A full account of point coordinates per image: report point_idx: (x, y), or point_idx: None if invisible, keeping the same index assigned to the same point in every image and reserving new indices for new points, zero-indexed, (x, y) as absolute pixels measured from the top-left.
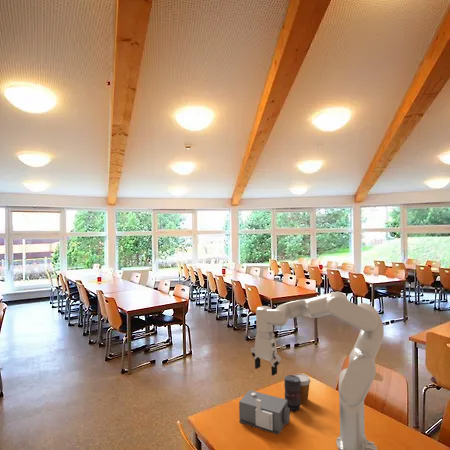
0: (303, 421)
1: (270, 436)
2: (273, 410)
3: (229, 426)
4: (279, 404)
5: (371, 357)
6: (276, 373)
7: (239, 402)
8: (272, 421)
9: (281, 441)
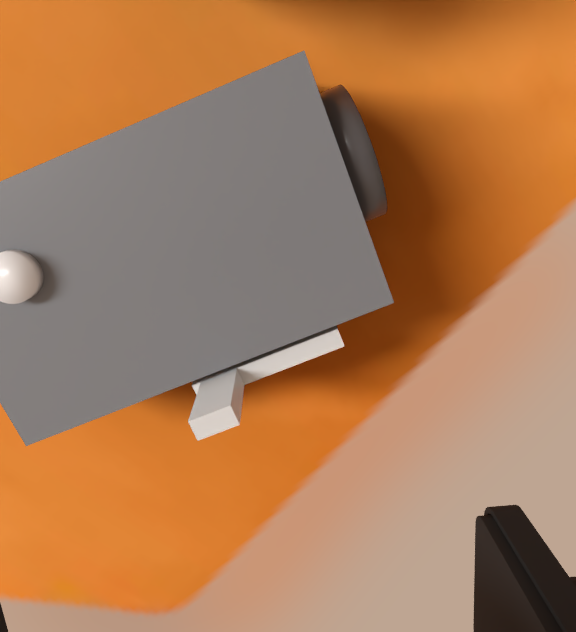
0: (401, 5)
1: None
2: (330, 311)
3: (96, 463)
4: (303, 192)
5: None
6: (512, 516)
7: (31, 441)
8: None
9: (418, 316)
